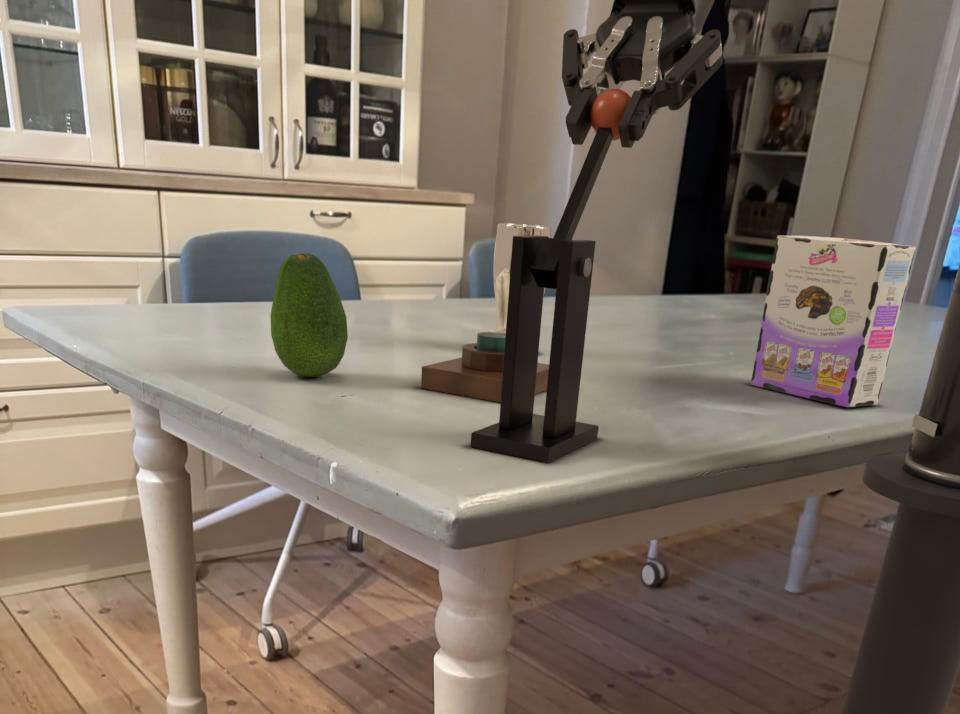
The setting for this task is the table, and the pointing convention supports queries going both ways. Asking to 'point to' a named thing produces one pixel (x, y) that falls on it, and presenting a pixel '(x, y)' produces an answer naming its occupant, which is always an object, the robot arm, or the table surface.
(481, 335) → the button
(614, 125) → the lever
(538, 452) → the bracket
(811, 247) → the candy box
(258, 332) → the table surface
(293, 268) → the avocado
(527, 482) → the table surface
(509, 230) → the beer glass
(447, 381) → the button block
